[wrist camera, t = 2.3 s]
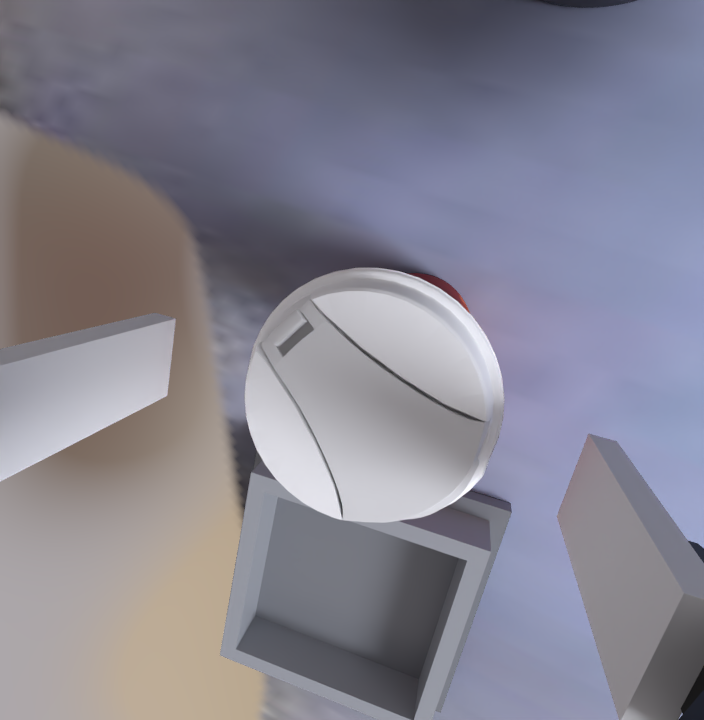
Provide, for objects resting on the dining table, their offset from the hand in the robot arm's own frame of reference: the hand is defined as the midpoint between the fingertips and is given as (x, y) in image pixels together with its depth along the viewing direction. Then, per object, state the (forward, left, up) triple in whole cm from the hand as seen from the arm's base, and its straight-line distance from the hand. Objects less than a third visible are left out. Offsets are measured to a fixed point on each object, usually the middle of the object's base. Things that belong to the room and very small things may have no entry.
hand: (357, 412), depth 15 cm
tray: (+17, 0, -14) cm, 22 cm away
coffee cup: (0, 0, -14) cm, 14 cm away
